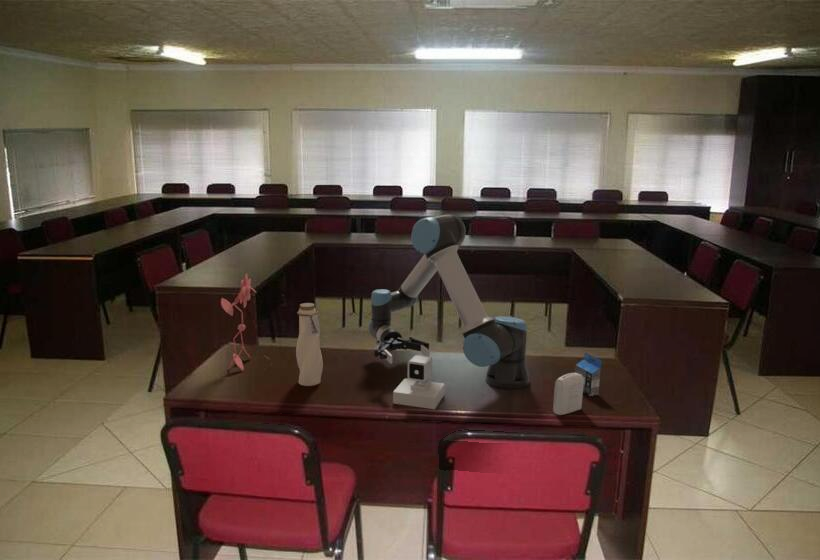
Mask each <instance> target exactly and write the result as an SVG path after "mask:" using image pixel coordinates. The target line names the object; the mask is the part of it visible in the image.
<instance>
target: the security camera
mask: <svg viewBox="0 0 820 560" xmlns="http://www.w3.org/2000/svg"><path fill="white" fill-rule="evenodd" d="M406 374H407V379H409V380H415V381H414V382H413V383H412V384H411V385H410V388H411V389H417V390H423V391H426V390H427V389H428V388H429V387H430V386H431V382H432V381H431V380H428V379H429V378H430V377H431V376H432V375H433V358H432V356H430V357H426V356H424V355H418V354H415V355H414V356H413V357H412V358H411V359H409V361H407V373H406Z"/></svg>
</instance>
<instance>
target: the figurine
mask: <svg viewBox="0 0 820 560" xmlns="http://www.w3.org/2000/svg"><path fill="white" fill-rule="evenodd" d="M248 275H249V274H248V273H247V272H246V273H245V276H244V278H243V279H242V280H241V281H240V291H239V292H238V295H237V296H236V298H235V300H234V301H233V302H230V301H228V300H227V299H225V298H224V297H222V298H220V305H221V307H222V309H223V310H224V312H225V313H226V314H228V315H230V316H231V317H233V316H234V307H235V308H236V309H237V310H238V311H240V313H241V323H240V324H238V325H237V330H239V331H238V333H236V335H235V336H234V337H233V346H234V347H233V348H234V353H233V354H232V361H231V363H230V365H229V367H228V370H230V369H231V368H232V365H233V363H235V365H236V366H237V367H238V368H239V369H240V370H241V371H242V372H244V364H243V362H242V359H241V357H240V356H241V354H242V352H243V351H244V353H246V355H247V357H248V358H249V359H250V360H251V359H252V357H251V356H250V355H249V354H248V352H247V351H246V350H245V347H244V341H243V335H242V332H244V331H245V329H246V325H245V324H244V312H243V311H242V309H240V308H239V307H238V306H237V304H238V303H239V304H241V305H243V306H242V307H243V308H244V309H246V307H247V304H248V303H247V302H249V301H251V290H252V291H253V292H254V293H255V294H258V293H257V292H258V291H256V290H255V289H254V288H253V287H251V286H252V285H251V283H252V280H251V278H249V277H248ZM248 278H249V279H248ZM233 306H234V307H233ZM239 334H240V338H241V344H242V345H240V347H241V349H240V351H239V354H237V350H236V339H235V338H237V336H238V335H239ZM263 356H264V357H266V356H265V355H263ZM267 359H268V360H269V361H270V360H271V358H269V357H267ZM271 365H272V363H269V365H268V366H267V367H265V368H264V369H262V370H263V371H264V370H266V369H267V368H269V367H270V366H271ZM221 375H224V376H225V375H226V374H224V373H221Z"/></svg>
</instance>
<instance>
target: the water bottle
mask: <svg viewBox="0 0 820 560" xmlns="http://www.w3.org/2000/svg"><path fill="white" fill-rule="evenodd" d="M296 314H297V316H298V317H299V318H298V323H299V324H298V325H299V326H298V327H299V328H298V329H299V330H298V331H299V332H298V337H297V343H296V347H295V354H296V355H295V356H296V362H297V363H296V364H297V367H298V368H299V376H298V384H299V385H301V386H304V387H312V386H317V385H319V384H320V383H321V381H322V379H321V377H322V373H323V368H324V364H323V356H322V352H321V348H320V347H321V345H320V335H321V330H320V324H319V317H318V316H319V315H318V314H319V311H318V310H316V307H315V303H312V302H304V303H300V304H299V309H298V311H297V312H296Z"/></svg>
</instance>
